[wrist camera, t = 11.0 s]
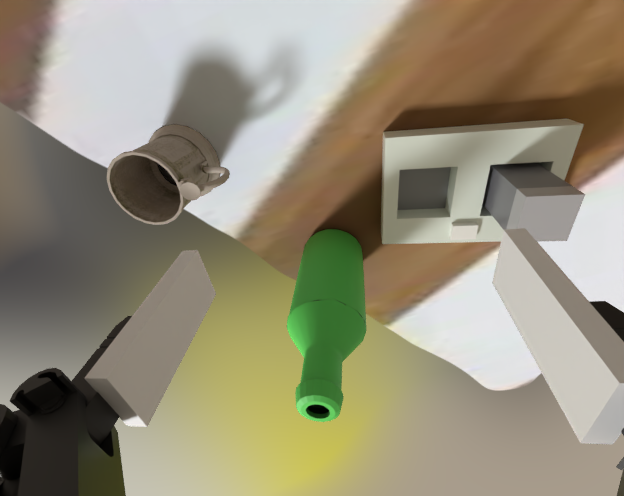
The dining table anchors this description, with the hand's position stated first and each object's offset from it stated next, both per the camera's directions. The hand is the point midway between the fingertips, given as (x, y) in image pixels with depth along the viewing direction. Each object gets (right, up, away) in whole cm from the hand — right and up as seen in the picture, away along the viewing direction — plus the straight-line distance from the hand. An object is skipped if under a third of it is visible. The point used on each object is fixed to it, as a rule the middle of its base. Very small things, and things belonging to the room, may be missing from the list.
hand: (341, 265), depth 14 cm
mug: (-16, +13, +28) cm, 35 cm away
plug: (+23, +9, +25) cm, 35 cm away
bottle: (+2, 0, +34) cm, 34 cm away
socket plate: (+18, +9, +26) cm, 33 cm away
